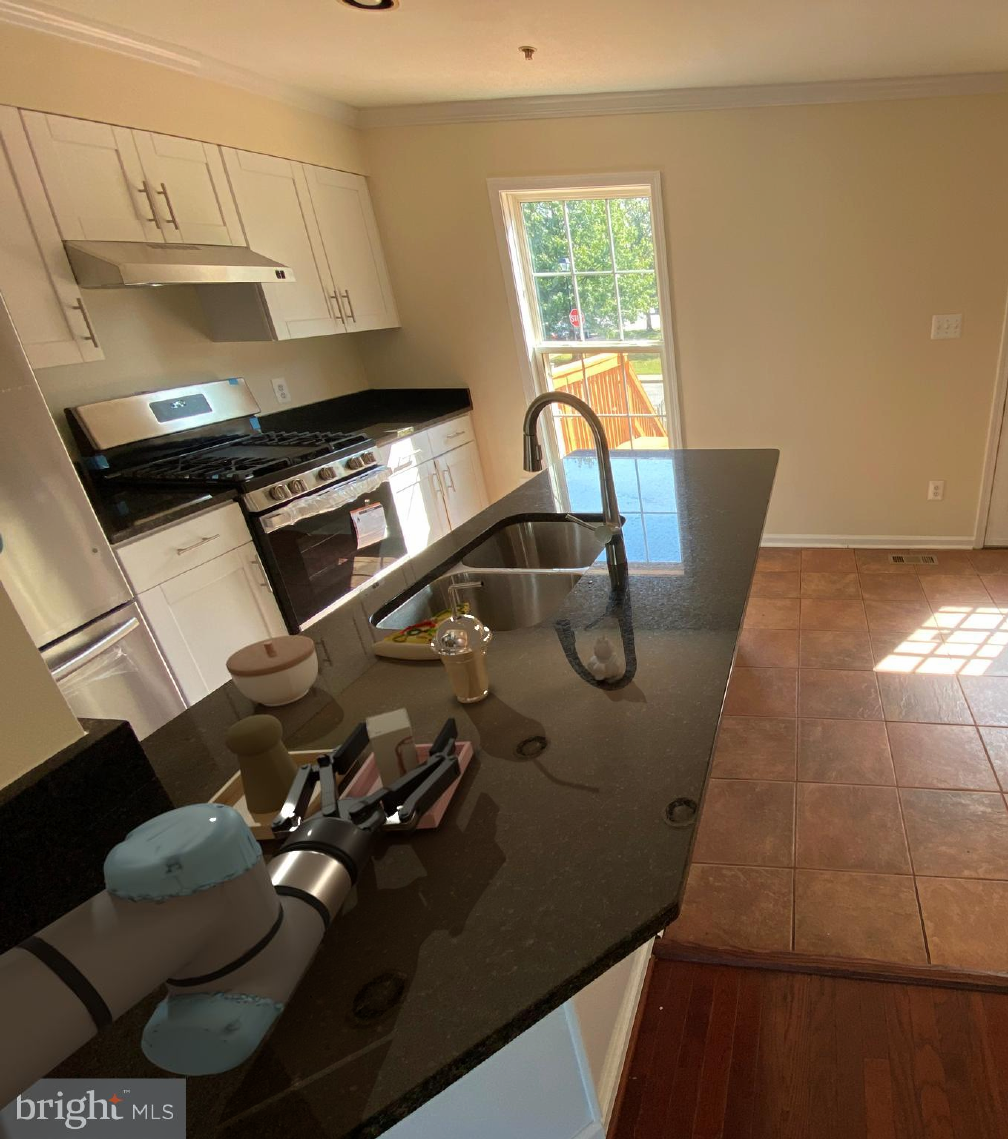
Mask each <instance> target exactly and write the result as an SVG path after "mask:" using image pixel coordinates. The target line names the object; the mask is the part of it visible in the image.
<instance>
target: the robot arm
mask: <svg viewBox="0 0 1008 1139" xmlns="http://www.w3.org/2000/svg"><path fill="white" fill-rule="evenodd" d="M3 550H4V540H3V537H2V534H1V533H0V554H1V553H2V552H3ZM458 736H459V732H458V727H457V722H456V719H455V717H449V718H447V720H446V721H445V722H444V725H443V726H442V728H441V729H440V732H439V733H438V735H437V737H436V738H435V740H434V742H433V743H432V744H433V745H432V747H431V749H430V750H429V755H430V758H429V759H427V760H426V761H424V762H423V763H422V764H420V765H419V766H417V767H416V768H414V769H413V770H412V771H410V772H409V773H407V774H406V775H405V776H403V777H402V778H400V779H399V780H397V781H396V782H395V783H393V784H392V785H390V786H389V787H387V788H386V787H382V788H380V789H379V790H377V791H376V792H374V793H373V794H371V795H369V796H362V797H357V798H356V797H342V799H341V800H339V798H340V796H339V788H338V787H339V786H338V787H337V780H336V775H335V773H336V772H337V773H338V775H345V774H346V773H347V772H348V770H349V769H350V768H351V766H352V765H353V763H354V762H355V761H356V759H357V760H358V758H359V757H360V756H361V754H362V753H363V752H364V750H365V749H366V747H367V746H368V745H369V744H370V739H369V735H368V731H367V725H366V722H359V723H358V724H357V726H356V727H355V728H354V729H353V731H352V732H351V733H350V735H349V736H348V737H347V738H346V740H344V742H343V743H342V744H338V745H337V746H335V747H334V748H333V749H334V750H333V751H332V752H331V754H330V755H329V754H322V755H320V756H318V757H317V762H318V765H315V766H311V764H304V765H302V766H301V767H299V769H298V772H297V774H296V777H295V779H294V782H293V784H292V786H291V789H290V791H289V794H288V796H287V799H286V801H285V804H284V806H283V809H282V811H281V812H280V813H279V814H278V815H277V816H276V818H275V819H274V820H273V821H272V822H271V823H270V828H271V830H272V832H273V835H274V837H275V839H274V840H275V842H276V844H277V845H281V846H280V848H279V849H278V850H277V851H276V853H275V855H273V858H272V859H271V860H270V861H269V863H267V864H266V861H265V858H264V854H263V850H262V847H261V845H260V843H259V841H257V840H255V838H254V836H253V834H252V832H251V830H250V828H249V826H248V824H246V822H245V821H244V819H243V817H242V816H241V814H240V813H239V812H238V811H237V810H235V809H234V808H232V807H231V806H226V805H223V804H218V803H208V802H205V803H196V804H190V805H186V806H182V807H179V808H176V809H173V810H169V811H167V812H164V813H162V814H159V815H157V816H155V817H153V818H151V819H149V820H147V821H146V822H144V823H141V824H140V825H139V826H137V827H136V828H134V829H133V830H132V831H130V832H129V833H127V835H126V837H125V839H124V841H122V842H120V843H118V844H116V845H115V846H114V847H113V848H112V849H111V850H110V851H109V853H108V854H107V855H106V859H105V861H104V863H103V875H104V883H105V889H103V890H102V891H100V892H99V893H97V894H95V895H93V896H92V897H91V898H89V899H88V900H86V901H85V902H83V903H81V904H79V905H78V906H77V907H74V908H73V909H72V910H71V911H69V912H66V914H64V915H63V916H61V917H60V918H58V919H56V920H55V921H53V922H52V923H50V924H48V925H46V926H45V927H43V928H42V929H40V930H39V931H38V932H36V933H34V934H33V935H32V936H30V937H28V938H26V939H24V940H23V941H22V942H20V943H19V944H16V945H15V946H13V947H12V948H11V949H9V950H7V951H6V952H4V953H3V954H0V1112H1V1111H2V1110H3V1109H5V1108H6V1107H7V1106H8V1105H9V1104H11V1103H12V1102H14V1100H16V1099H17V1098H18V1097H20V1096H21V1095H22V1094H23V1093H25V1092H26V1091H28V1089H30V1088H31V1087H33V1085H35V1084H36V1083H37V1082H38V1081H40V1080H41V1079H42V1078H43V1077H45V1076H46V1075H47V1074H49V1073H50V1072H51V1071H52V1070H53V1069H55V1068H57V1066H59V1065H60V1064H61V1063H62V1062H64V1061H65V1060H66V1059H67V1058H69V1057H70V1056H71V1055H72V1054H74V1053H75V1052H76V1051H77V1050H79V1049H80V1048H82V1047H83V1046H84V1045H85V1044H86V1043H88V1042H89V1041H91V1039H93V1038H94V1037H95V1036H96V1035H97V1034H99V1033H101V1031H102V1030H104V1029H105V1028H107V1027H108V1026H109V1025H111V1024H112V1023H113V1022H115V1021H116V1020H118V1019H119V1018H120V1017H121V1016H122V1015H124V1014H125V1013H127V1012H128V1011H129V1010H130V1009H131V1008H133V1007H134V1006H135V1005H136V1004H138V1003H139V1002H140V1001H142V1000H143V999H144V998H145V997H147V996H148V995H149V994H150V993H152V992H153V991H154V990H156V989H157V988H158V987H159V986H161V985H162V984H163V983H164V985H165V987H166V988H167V990H168V992H167V995H166V996H165V998H164V999H163V1000H161V1002H159V1003H158V1004H157V1005H156V1008H155V1009H154V1012H153V1014H152V1016H150V1018H149V1020H148V1022H147V1023H146V1024H145V1026H144V1029H143V1031H142V1035H141V1041H140V1047H141V1050H142V1052H143V1054H144V1056H146V1058H147V1059H148V1060H149V1061H150V1062H151V1063H152V1064H154V1065H155V1066H157V1067H159V1068H160V1069H162V1070H165V1071H168V1072H169V1073H170V1072H171V1073H174V1074H178V1075H185V1076H192V1077H197V1076H198V1077H199V1076H206V1075H218V1074H222V1073H224V1072H229V1071H230V1070H233V1069H234V1068H236V1067H238V1066H239V1065H241V1064H242V1063H244V1062H245V1061H246V1060H247V1059H249V1058H250V1057H251V1056H252V1054H254V1052H255V1051H256V1049H257V1048H258V1046H259V1044H260V1043H261V1041H262V1040H263V1038H264V1036H265V1035H266V1034H267V1032H268V1030H269V1029H270V1028H271V1026H272V1024H273V1023H274V1022H275V1020H276V1018H277V1017H279V1016H280V1015H281V1014H282V1013H283V1011H284V1008H285V1006H286V1003H287V1002H288V1000H289V998H290V996H291V995H292V993H293V991H294V989H295V987H296V986H297V984H298V982H299V980H300V979H301V976H303V974H304V971H305V969H306V968H307V967H308V965H309V963H310V961H311V960H312V957H313V956H314V954H315V952H316V951H317V949H318V948H319V946H320V944H321V941H322V940H323V938H324V935H325V934H326V933H327V931H328V929H329V927H330V925H331V924H332V922H333V921H334V919H335V917H336V916H337V914H338V912H339V910H340V908H341V907H342V905H343V904H344V901H345V900H346V898H347V896H348V895H349V893H350V891H351V889H352V887H354V886H355V884H356V882H357V880H358V879H359V877H360V875H361V874H362V872H363V871H364V868H365V867H366V865H367V864H368V862H369V860H370V858H371V855H372V853H373V850H374V847H375V844H376V843H377V841H379V840H380V839H381V838H382V837H383V836H384V835H385V834H386V833H387V832H390V831H402V834H403V836H410V835H412V834H414V833H415V832H416V830H417V829H416V828H417V826H418V823H419V821H420V819H421V818H422V817H423V815H424V814H425V813H426V812H427V811H428V810H429V809H430V808H431V807H432V806H433V805H434V803H435V802H436V801H437V800H438V799H439V798H440V797H441V796H442V795H443V794H444V792H445V791H446V790H447V789H448V788H449V787H450V786H451V785H452V784H453V783H454V782H455V780H456V779H457V778H458V777H459V776H460V775H461V769H460V765H459V761H458V756H457V755H454V753H455V751H456V745H455V742H456V740H457V739H458ZM356 762H357V761H356ZM356 762H355V763H356ZM353 766H354V765H353ZM353 766H352V767H353ZM351 769H352V768H351ZM351 769H350V770H351ZM350 770H349V771H350ZM348 773H349V772H348ZM348 773H347V774H348ZM347 774H346V775H347ZM317 781H320V785H321V804H322V807H321V810H320V811H318V812H316V813H315V814H313V815H311V816H310V817H308V818H306V819H305V820H304V817H305V814H306V811H307V808H308V806H309V803H310V800H311V797H312V794H313V791H314V789H315V786H316V783H317ZM381 800H382V803H383V807H384V810H383V808H382V806H381V804H380V801H381ZM401 829H402V830H401Z"/></svg>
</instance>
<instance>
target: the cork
mask: <svg viewBox="0 0 1008 1139" xmlns="http://www.w3.org/2000/svg"><path fill="white" fill-rule="evenodd" d="M282 736H283V725H282V723H281V722H280V720H279V719H278V718H277V717H275V716H273V715H270V714H256V715H255V714H254V715H251V716H248V717H247V716H246V717H245V718H243V719H240V720H239V721H237V722H235V723H234V724H232V725H231V726H230V727H229V728H228V730H227V731H226V733H225V745H226V747H227V749H228V750H229V751H230V752H231V753H232V754H233V755H236V756H237V760H238V766H239V770H240V772H241V778H242V783H243V788H244V794H245V799H246V804H247V809H248V810H249V811H250V812H251V813H254V814H267V813H272V812H275V811H278V810H281V809H283V806H284V804H285V801H286V799H287V796H288V794H289V791H290V789H291V786H292V784H293V782H294V779H295V777H296V774H297V772H298V768H297V766H296V764H295V763H294V761H293V759H292V758H291V756H290V754H289V753H288V752H289V751H288V749H287V748H286V746H285V744H284V742H283V741H282V739H281V738H282Z"/></svg>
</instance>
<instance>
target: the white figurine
mask: <svg viewBox="0 0 1008 1139" xmlns="http://www.w3.org/2000/svg"><path fill="white" fill-rule="evenodd" d="M593 652H594V655H593V656H591V657H590V659H589V660H588V662H587V669H588V670H587V671H588V672H589V673H590V674H593V676H594V678H595V680H596V681H602V680H604V679H612V678H614V677H616V676H618V675H619V674H620V672H621V671H622V668H623V662H622V659H621V658H620V657H619V654H618V653H616V652H615V646H614V644H613V642H612V641H610V639H609V638H606V635H605V632H602V636H601V638H600V637H598V638H597V639H596V642H595V644H594V646H593Z"/></svg>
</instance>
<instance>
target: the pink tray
mask: <svg viewBox="0 0 1008 1139" xmlns="http://www.w3.org/2000/svg"><path fill="white" fill-rule="evenodd" d="M432 745H433V743H420V744H419V743H418V744H415V746H416V750H417V754H418V758H419V762H420V764H422V763H423V762H424V761H426V760H427V759H429V758H430V755H429V750H430V749H431V747H432ZM455 745H456V751H455V753H454V755H457V756H458V761H459V765H460V769H461V775H460V776H459V777H458V778H457V779H456V780H455V782H454V783H453V784H452V785H451V786H450V787H449V788H448V789H447V790H446V791H445V792H444V794H443V795H442V796H441V797H440V798H439V799H438V800H437V801H436V802H435V803H434V805H433V806H432V807H431V808H430V809H429V810H428V811H427V812H426V813H425V814H424V815H423V817H422V818H421V819H420V821H419V823H418V826H417V828H416V830H419V829H420V830H421V829H431V828H432V829H433V828H435V829H436V828H438V826H439V824H440V822H441V819H442V818H443V815H444V813H445V812H446V810H447V808H448V805H449V804H450V802H451V800H452V797H453V795H454V793H455V791H456V789H457V787H458V786H459V784H460V781H461V779H462V777H463V775H464V773H465V771H466V769H467V767H468V765H469V762H470V761H471V758H472V757H473V754H474V751H473V745H472V742H471V741H455ZM382 787H383V785H382V781H381V778H380V774H379V771H378V767H377V764H376V760H375V757H374V753H373V751H372V752H371V753H370V755H369V756H368V758H367V759H366V760H365V761H364V763H363V765H362V766H361V767H360V769H359V770H358V771H357V773H356V774H355V775H354V777H353V778H352V780H351V781H350V782H349V784H348V785H347V787H346V788H345V790H344V791H343V792H342V794H341V795H340V796H339V800H341V799H342V797H356V798H357V797H362V796H369V795H371V794H373V793H374V792H376V791H377V790H379V789H380V788H382ZM380 804H381V806H382V808H383V810H384V807H383V803H382V800H381V801H380ZM400 831H402V829H401V830H400Z"/></svg>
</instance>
